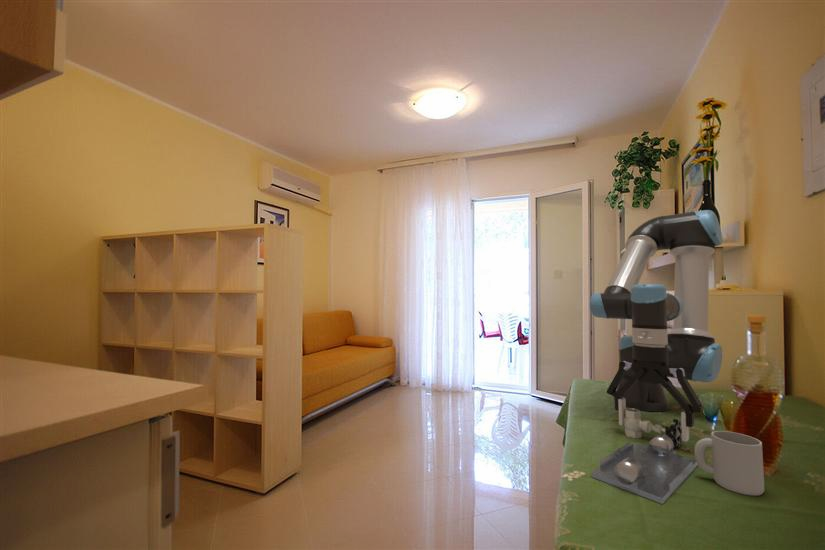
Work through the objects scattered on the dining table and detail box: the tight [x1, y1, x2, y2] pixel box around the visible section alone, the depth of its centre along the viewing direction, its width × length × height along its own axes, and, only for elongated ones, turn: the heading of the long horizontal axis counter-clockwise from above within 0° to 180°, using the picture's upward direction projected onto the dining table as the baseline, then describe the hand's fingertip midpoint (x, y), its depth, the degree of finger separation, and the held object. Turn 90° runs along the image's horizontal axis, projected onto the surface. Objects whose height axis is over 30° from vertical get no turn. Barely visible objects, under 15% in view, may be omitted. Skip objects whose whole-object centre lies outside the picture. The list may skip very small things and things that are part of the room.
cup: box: [693, 430, 765, 497], centre depth 69 cm, size 7×10×9 cm
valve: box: [623, 407, 683, 449], centre depth 90 cm, size 7×7×12 cm
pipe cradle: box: [590, 433, 699, 505], centre depth 74 cm, size 23×12×5 cm, turn 130°
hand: (652, 431), depth 89 cm, fingers open, 13 cm apart
